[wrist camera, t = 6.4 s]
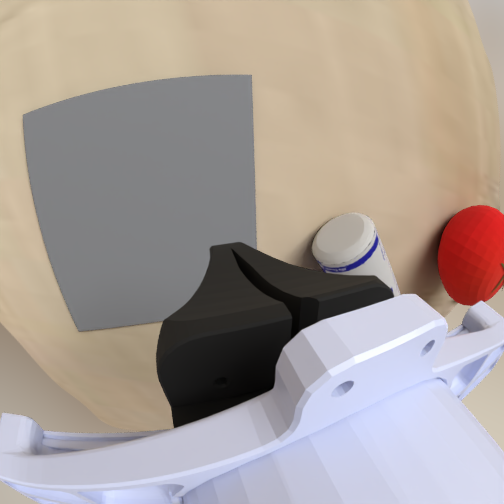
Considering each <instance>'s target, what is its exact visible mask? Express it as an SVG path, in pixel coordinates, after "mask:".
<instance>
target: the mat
mask: <svg viewBox="0 0 504 504" xmlns="http://www.w3.org/2000/svg"><path fill="white" fill-rule="evenodd" d="M23 127H24V140H25V149H26V158H27V165H28V172H29V178H30V184H31V189H32V195H33V199H34V204H35V209H36V213H37V217H38V221H39V225H40V229H41V232H42V236H43V240H44V243H45V246H46V250H47V253H48V256H49V259H50V262H51V265H52V268H53V271H54V274H55V276H56V279H57V282H58V284H59V287H60V290H61V292H62V295H63V297H64V300H65V302H66V304H67V307H68V309H69V311H70V314H71V316H72V318H73V320H74V323H75V325H76V327H77V329H78V331H88V330H97V329H106V328H114V327H122V326H130V325H137V324H145V323H152V322H158V321H164V319H166V318H167V317H169V316H170V315H172V314H173V313H174V312H176V311H177V310H179V309H180V308H181V307H182V306H184V305H185V304H186V303H187V302H188V301H189V300H190V299H191V297H192V296H193V295H194V293H195V292H196V290H197V289H198V287H199V286H200V284H201V282H202V280H203V278H204V276H205V273H206V271H207V268H208V265H209V261H210V250H209V249H210V247H211V246H214V245H221V244H228V243H234V242H242V243H244V244H246V245H248V246H250V247H252V248H254V249H256V250H257V242H256V203H255V167H254V133H253V101H252V75H208V76H192V77H180V78H170V79H162V80H154V81H147V82H141V83H135V84H129V85H123V86H118V87H114V88H109V89H104V90H100V91H96V92H92V93H88V94H84V95H80V96H77V97H73V98H70V99H66V100H63V101H60V102H57V103H54V104H51V105H48V106H45V107H42V108H39V109H37V110H34V111H31V112H29V113H26V114H24V115H23Z"/></svg>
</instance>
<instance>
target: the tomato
mask: <svg viewBox="0 0 504 504" xmlns="http://www.w3.org/2000/svg"><path fill="white" fill-rule="evenodd" d="M438 269H439V275H440V278H441V280H442V283H443V285H444V288H445V289H446V291H447V293H448V294H449V296H450V297H451V298H453V299H454V300H455V301H456V302H457V303H460V304H463V305H470V306H473V305H475V304H476V303H478V302H479V301H483V302H485V301H487V300H489V299H490V298H492V297H493V296H494V295H495V294H496V293H497V292H498V290H499V289H500V288H501V287H502V286H504V215H503V214H502V213H501V212H500V211H499V210H497V209H495V208H492V207H490V206H484V205H477V206H471V207H468V208H466V209H463V210H461V211H460V212H458V213H457V214H456V215H455V216H454V217H453V218H452V219H451V220H450V221H449V223H448V224H447V226H446V227H445V229H444V231H443V234H442V237H441V240H440V245H439V250H438Z"/></svg>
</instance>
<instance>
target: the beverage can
mask: <svg viewBox="0 0 504 504" xmlns="http://www.w3.org/2000/svg"><path fill="white" fill-rule="evenodd" d="M312 253H313V256H314V257H315V259H316V260H317V262H318V263H319V265H320V266H321V268H322V269H323V271H324V272H325V273H332V274H342V275H375V276H377V277H378V278H379V279H380V280H381V281H383V282H384V283H385V284H386V285H387V286H388V287H390V288H391V289H392V291H393V294H394V297H397V296H399V295H401V294H400V291H399V288H398V285H397V282H396V279H395V276H394V274H393V271H392V268H391V265H390V263H389V260H388V257H387V255H386V252H385V250H384V247H383V245H382V242H381V240H380V237H379V235H378V232H377V230H376V228H375V225H374V223H373V221H372V220H371V219H370V218H369V217H368V216H366V215H364V214H360V213H347V214H343V215H340V216H337V217H335V218H333V219H332V220H330V221H328V222H327V223H326V224H325V225H324V226H323V227H322V228H321V229H320V230H319V231H318V233H317V234H316V236H315V238H314V240H313V243H312Z"/></svg>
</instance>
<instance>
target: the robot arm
mask: <svg viewBox="0 0 504 504" xmlns="http://www.w3.org/2000/svg"><path fill="white" fill-rule="evenodd" d="M209 250H210V261H209V265H208V268H207V271H206V273H205V276H204V278H203V280H202V282H201V284H200V286H199V287H198V289H197V290H196V292H195V293H194V295H193V296H192V297H191V299H190V300H189V301H188V302H187V303H186V304H185V305H184V306H182V307H181V308H180V309H179V310H177V311H176V312H174V313H173V314H172V315H170V316H169V317H167V318H166V319H164V321H163V324H162V327H161V331H160V334H159V339H158V345H157V353H156V363H157V374H158V379H159V382H160V384H161V386H162V388H163V391H164V393H165V395H166V397H167V399H168V402H169V404H170V406H171V410H172V417H173V425H174V429H166V430H156V431H145V432H130V433H71V432H56V431H45V430H43V429H42V428H41V427H40V426H39V424H38V423H37V422H36V421H34V420H33V419H32V418H30V417H28V416H24V415H18V414H11V413H2V416H1V420H0V481H2V482H3V483H5V484H6V485H8V486H9V487H11V488H13V489H14V490H16V491H18V492H19V493H21V494H23V495H25V496H26V497H28V498H30V499H32V500H34V501H36V502H38V503H40V504H504V452H503V451H502V449H501V448H500V447H499V446H498V444H497V443H496V442H495V441H494V439H493V438H492V437H491V436H490V435H489V433H488V432H487V431H486V430H485V429H484V427H483V426H482V425H481V424H480V423H479V421H478V420H477V419H476V418H475V417H474V416H473V414H472V413H471V412H470V411H469V410H468V409H467V407H466V406H465V405H464V404H463V403H462V402H461V401H462V399H464V398H465V397H466V396H467V395H468V394H469V393H470V392H471V391H472V390H473V389H474V388H475V387H476V386H477V385H478V384H479V383H480V381H482V379H484V377H486V376H487V374H488V373H489V372H490V371H491V370H492V369H493V368H494V366H495V365H496V363H497V361H498V360H499V358H500V357H501V355H502V354H503V352H504V318H503V317H502V316H501V315H499V314H498V313H497V312H496V311H494V310H493V309H492V308H491V307H489V306H488V305H487V304H486V303H484V302H483V301H479V302H478V303H476V304H475V305H473V306H472V307H470V308H469V309H468V311H467V312H466V314H465V316H464V318H463V321H462V324H461V325H459V326H458V327H456V328H455V329H453V330H452V331H450V332H448V325H447V322H446V320H445V318H444V317H443V316H441V315H440V314H439V313H438V312H437V311H436V310H434V309H433V308H432V307H431V306H430V305H428V304H427V303H426V302H425V301H424V300H422V299H421V298H420V297H419V296H417V295H416V294H402V295H399V296H397V297H394V294H393V291H392V289H391V288H390V287H388V286H387V285H386V284H385V283H384V282H383V281H381V280H380V279H379V278H378V277H377V276H375V275H342V274H332V273H325V272H319V271H314V270H309V269H305V268H301V267H298V266H295V265H291V264H288V263H285V262H283V261H280V260H278V259H275V258H273V257H271V256H269V255H266V254H264V253H262V252H260V251H258V250H256V249H254V248H252V247H250V246H248V245H246V244H244V243H242V242H234V243H228V244H221V245H214V246H211V247H210V249H209ZM447 332H448V333H447Z"/></svg>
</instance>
